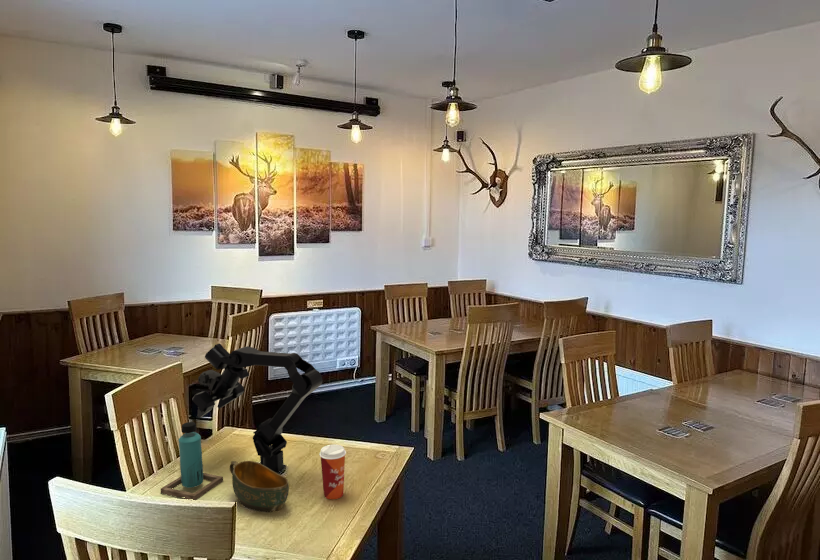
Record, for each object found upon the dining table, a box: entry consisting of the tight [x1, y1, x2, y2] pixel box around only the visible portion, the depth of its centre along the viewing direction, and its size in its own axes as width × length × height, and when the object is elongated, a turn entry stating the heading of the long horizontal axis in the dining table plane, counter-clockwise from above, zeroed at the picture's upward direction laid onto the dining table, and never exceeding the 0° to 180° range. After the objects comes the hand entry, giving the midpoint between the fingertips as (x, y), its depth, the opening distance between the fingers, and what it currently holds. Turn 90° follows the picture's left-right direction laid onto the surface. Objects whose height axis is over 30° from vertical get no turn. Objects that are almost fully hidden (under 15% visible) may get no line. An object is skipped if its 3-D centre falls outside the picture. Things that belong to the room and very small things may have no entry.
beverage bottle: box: [177, 421, 205, 489], centre depth 165 cm, size 6×7×20 cm
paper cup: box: [319, 444, 347, 501], centre depth 161 cm, size 8×8×14 cm
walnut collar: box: [160, 472, 224, 501], centre depth 166 cm, size 12×12×2 cm
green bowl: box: [229, 460, 290, 513], centre depth 157 cm, size 13×20×10 cm, turn 32°
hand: (208, 412), depth 185 cm, fingers open, 9 cm apart
